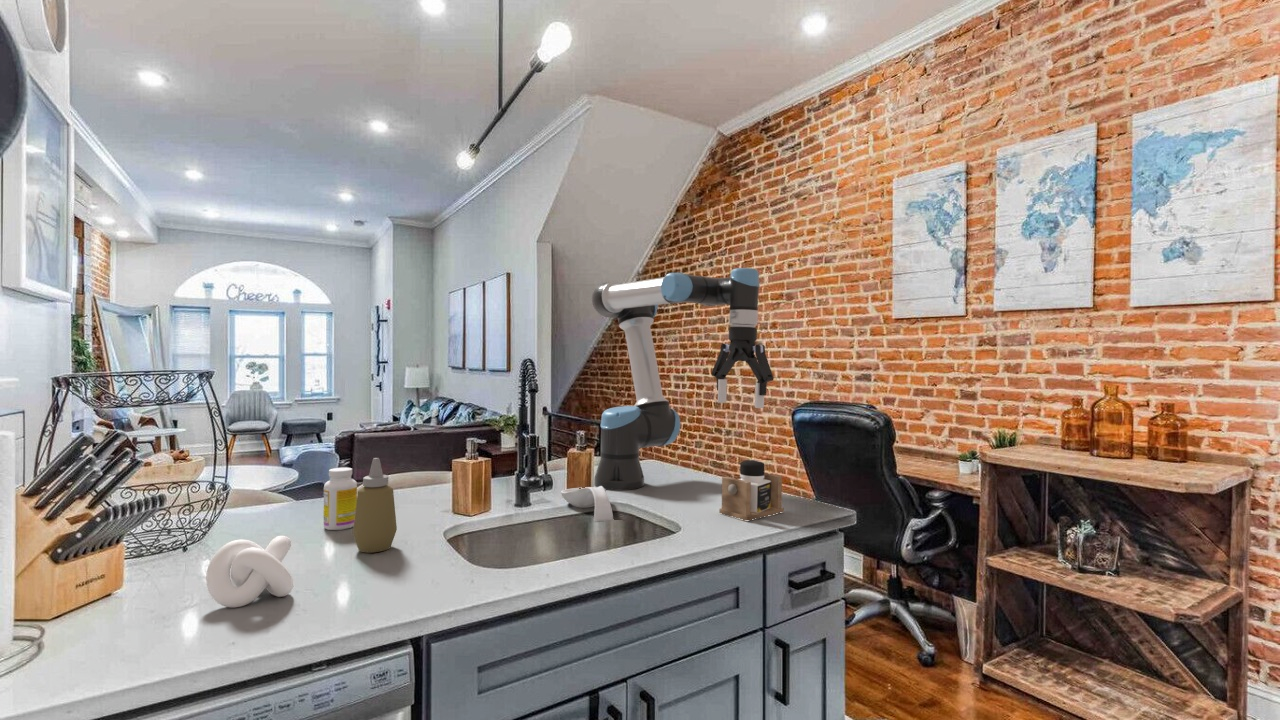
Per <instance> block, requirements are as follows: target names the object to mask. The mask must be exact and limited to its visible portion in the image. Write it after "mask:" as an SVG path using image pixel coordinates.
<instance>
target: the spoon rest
mask: <svg viewBox="0 0 1280 720" xmlns="http://www.w3.org/2000/svg"><path fill="white" fill-rule="evenodd" d="M584 487H585V486H584ZM579 488H581V489H579ZM560 494H561V496H562V498H563V499H564V500H565V501H566V502H567V503H568V504H570V505H571V506H572V507H575V508H592V507H594V511H593V514H594V515H593V522H594V523H601V522H610V521H613V520H614V515H613V508H612V505H611V502H610V499H609V496H608V494H607V489H604V488H603V487H602V486H599V487H597V486H586V487H585V488H582V487H573V488H572V487H571V488H567V489H562V490H561V491H560Z"/></svg>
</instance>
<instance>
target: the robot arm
mask: <svg viewBox="0 0 1280 720" xmlns="http://www.w3.org/2000/svg"><path fill="white" fill-rule="evenodd" d="M759 292H760V273H759V271H758V270H757V269H756V268H752V267H751V268H750V267H737V268H733V269H731V272H730V276H729V277H718V278H717V277H709V276H702V275H695V274H688V273H683V272H669V273H667V274H666V275H665V276H664V277H656V278H650V279H645V280H644V279H643V280H637V281H631V282H630V281H629V282H624V283H623V282H618V281H605V282H602V283H600V284H598V285H597V286H596V287H595V288H594V289H593V292H592V296H591V304H592V307H593V308H594V310H595V311H596V313H598V314H599V315H601V316H602V317H605V318H607V319H608V318H609V319H617V321H618V326H619V327H618V328H620V329H621V330H622V331H624V335H625V336H624V337H625V340H626V347H627V354H628V357H629V358H628V359H629V362H630V363H629V364H630V369H631V377H632V380H633V388H634V392H635V399H636V402H635V404H634V405H624V406H615V407H610V408H608V409H605V410H604V411H602V414H601V421H600V460H599V463H598V465H597V468H596V469H597V470H596V473H595V475H594V479H593V480H594V481H593V483H594V487H599V486H602V487H603V488H604V489H606V490H611V491H612V490H617V491H624V490H625V491H626V490H628V491H629V490H635V489H640V488H642V487H644V486H645V475H644V473H643V469H642V466H641V463H640V449H642V448H653V447H658V448H659V447H663V446H667V445H668V446H669V445H670V444H672V443H674V442H675V441H676V440H677V438H678V436H679V434H680V431H681V417H680V415H679V413H678V412H677V411H676V410H675V409H673V408H671V407H670V401H669V400H668V399H666V398H665V397H664V396H663V395H664V394H663V390H662V383H661V379H660V378H661V377H660V373H659V367H658V366H659V365H658V361H657V355H656V351H655V346H654V345H655V344H654V339H653V335H652V329H651V326H652V325H653V323H654V321H655V319H654V318H655V317H656V315H658V314H657V313H658V309H659V305H668V304H681V303H689V304H697V305H698V304H699V305H701V306H708V307H716V306H726V305H728V306H729V319H728V321H729V322H728V325H730V326H729V328H728V340H729V342H730V343H721V345H720V350H719V353H718V356H717V359H716V361H715V364H714V366H713V368H712V371H711V376H712V377H714V378H716V390H717V402H716V403H718V404H724V403H727V394H728V379H727V375H728V374H729V372H730V371H731V370H732V369H733V367H734V365H735V364H736V363H737V362H745V363H747V364H748V367H749V368H750V369H751V371H752V373H753V375H754V377H755V378H756V380H757V381H756V382H755V389H754V390H755V391H754V392H755V393H754V409H763V408H765V396H766V395H767V390H768V389H767V384H768V383H770V382H773V381H774V380H775V379H774V376H773V372H772V369H771V366H770V363H769V360H768V358H767V355H766V346H765V345H764V344H755V343H756V341H758V340H757V339H758V328H757V327H756V326H758V319H759V318H758V317H759V311H758V310H759Z"/></svg>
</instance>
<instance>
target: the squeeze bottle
mask: <svg viewBox="0 0 1280 720" xmlns="http://www.w3.org/2000/svg"><path fill="white" fill-rule="evenodd" d="M382 469H383V468H382V463H381V460H380V458H379V457H373V459H372V462H371V466H370V470H369V474H368V475H366V476H364V477H363V478H362V487H361V488H359V489H357V503H356V511H355V520H354V526H353V527H352V528H353V529H352V535H353V537H354V541H355V543H356V547H357V548H358V549H357V550H358V551H359V552H361V553H378V552H383V551H386V550H389V549H391V547H392V544H393V542H394V538H395V536H396V533H397V528H398V527H397V518H396V517H397V516H396V507H395V506H396V505H395V496H394V488H393V487H392V486H391V485H389V475H387V474H384V473H383V470H382Z"/></svg>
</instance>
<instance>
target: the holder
mask: <svg viewBox="0 0 1280 720" xmlns="http://www.w3.org/2000/svg"><path fill="white" fill-rule="evenodd" d="M739 479H740V478H734V477H729V476H723V477H721V508H719V510H718V513H722V514H725V515H724V516H726V515H729V516H733V517H736V518H740V519H743V520H752V519H755V518H760V517H764V516H768V515H773V514H776V513H780V512H785V511H784V507H782V501H783V500H782V498H783V495H782V494H783V476H782V475H781V476H780V475H777V474H772V473H767V472H765V473H764V478H763V479H765V480H770V481H771V507H770V508H769V509H767V510H764V511H762V512H760V513H753V512H750V499H751V482H748V481H743V480H739ZM722 514H721V515H722ZM729 516H728V517H729ZM773 516H774V515H773ZM736 518H735V519H736ZM752 521H753V520H752Z"/></svg>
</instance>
